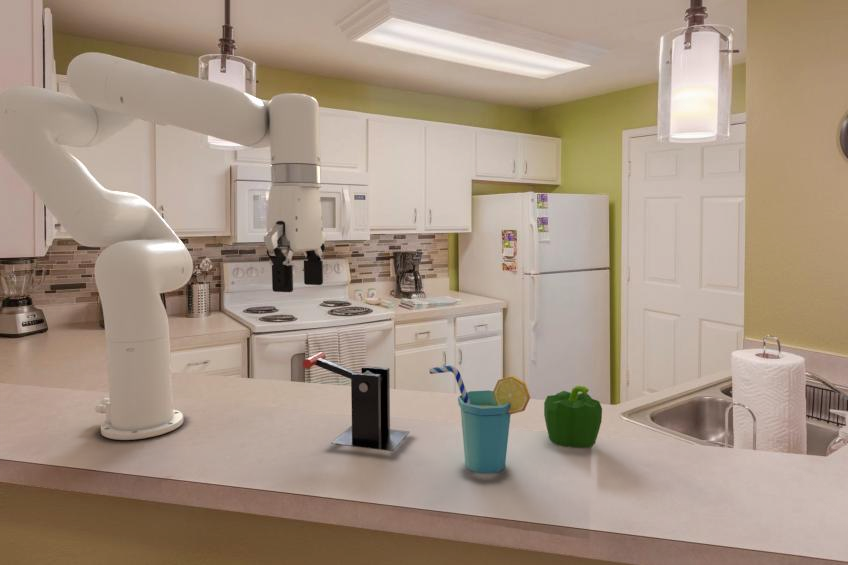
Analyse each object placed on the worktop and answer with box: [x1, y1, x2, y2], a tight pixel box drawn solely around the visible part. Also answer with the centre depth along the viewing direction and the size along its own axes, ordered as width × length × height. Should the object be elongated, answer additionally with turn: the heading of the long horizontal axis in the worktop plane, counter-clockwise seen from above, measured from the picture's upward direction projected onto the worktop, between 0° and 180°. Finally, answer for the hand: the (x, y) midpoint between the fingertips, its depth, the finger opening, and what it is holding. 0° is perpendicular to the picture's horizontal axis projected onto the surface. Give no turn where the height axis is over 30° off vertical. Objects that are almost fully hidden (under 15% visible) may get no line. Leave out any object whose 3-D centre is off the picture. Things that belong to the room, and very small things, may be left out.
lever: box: [301, 351, 383, 387], centre depth 90 cm, size 12×5×2 cm, turn 75°
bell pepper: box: [543, 385, 603, 449], centre depth 88 cm, size 8×8×10 cm
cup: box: [428, 364, 531, 475], centre depth 79 cm, size 14×8×15 cm, turn 76°
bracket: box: [331, 365, 410, 452], centre depth 89 cm, size 10×8×12 cm
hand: (299, 287), depth 90 cm, fingers open, 9 cm apart
